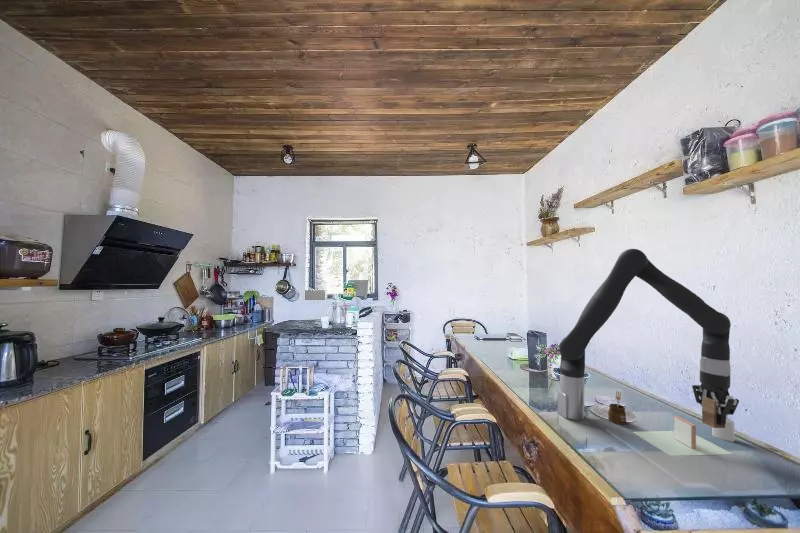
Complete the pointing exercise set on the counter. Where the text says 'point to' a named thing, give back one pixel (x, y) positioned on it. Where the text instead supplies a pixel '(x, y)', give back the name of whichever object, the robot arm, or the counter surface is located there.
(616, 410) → the utensil holder
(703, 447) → the mat
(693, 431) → the tile
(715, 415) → the block
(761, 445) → the counter surface
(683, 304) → the robot arm
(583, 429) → the counter surface
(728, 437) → the eye dropper bottle
